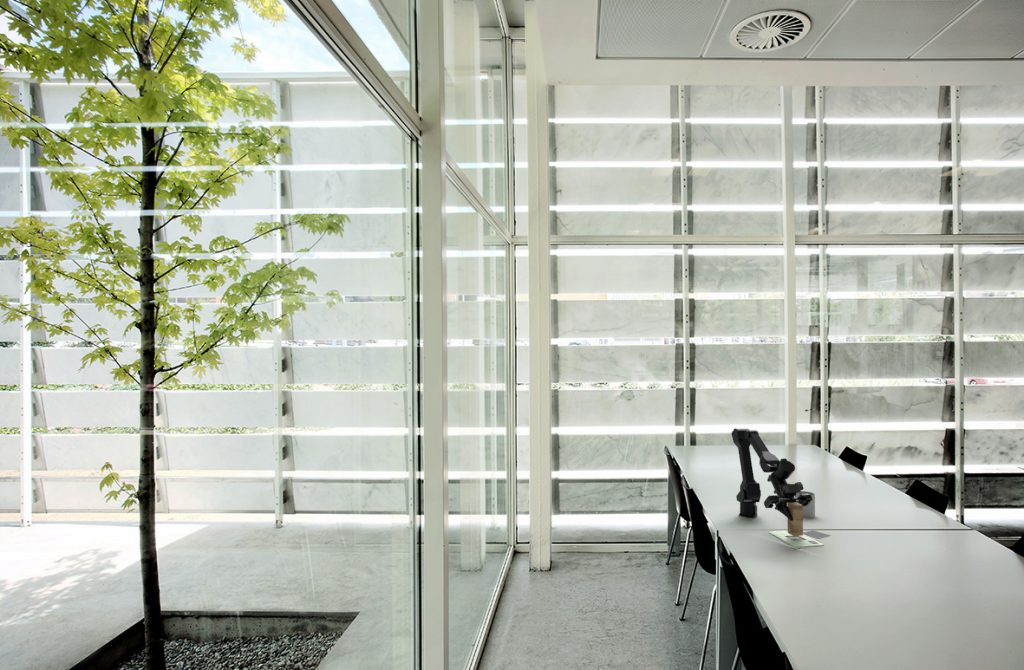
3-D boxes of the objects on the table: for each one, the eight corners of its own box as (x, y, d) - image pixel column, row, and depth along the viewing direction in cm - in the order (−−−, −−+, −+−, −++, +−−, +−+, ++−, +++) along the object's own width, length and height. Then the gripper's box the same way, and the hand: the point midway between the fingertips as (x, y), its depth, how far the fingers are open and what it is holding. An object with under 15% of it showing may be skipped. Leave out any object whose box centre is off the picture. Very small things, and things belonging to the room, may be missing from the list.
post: (787, 532, 243) (787, 502, 243) (796, 532, 244) (796, 502, 244) (793, 535, 239) (793, 505, 239) (802, 535, 240) (802, 505, 240)
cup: (803, 518, 270) (803, 496, 270) (790, 513, 278) (790, 491, 278) (819, 517, 273) (819, 494, 273) (805, 512, 280) (805, 490, 281)
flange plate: (768, 534, 249) (768, 531, 249) (795, 532, 251) (795, 529, 251) (795, 549, 232) (795, 545, 232) (824, 547, 234) (824, 544, 234)
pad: (800, 534, 248) (800, 533, 248) (812, 531, 252) (812, 530, 252) (818, 540, 241) (818, 538, 241) (831, 537, 245) (831, 535, 245)
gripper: (767, 475, 244) (784, 511, 233) (809, 474, 247) (828, 508, 236) (756, 490, 252) (772, 525, 241) (797, 488, 255) (815, 522, 244)
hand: (797, 520), depth 240 cm, fingers closed on post, 4 cm apart
